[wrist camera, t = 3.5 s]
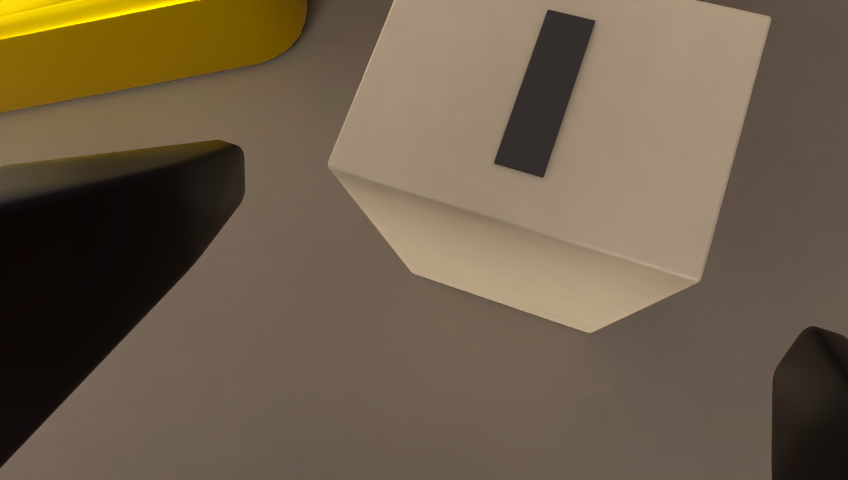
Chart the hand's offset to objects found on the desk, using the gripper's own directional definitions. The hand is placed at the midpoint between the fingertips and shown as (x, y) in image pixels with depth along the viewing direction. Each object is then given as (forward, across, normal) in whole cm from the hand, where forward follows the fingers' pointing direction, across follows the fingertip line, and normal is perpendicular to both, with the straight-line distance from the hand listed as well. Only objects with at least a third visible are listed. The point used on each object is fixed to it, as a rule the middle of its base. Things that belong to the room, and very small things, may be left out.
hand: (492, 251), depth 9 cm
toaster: (+9, 0, +5) cm, 10 cm away
